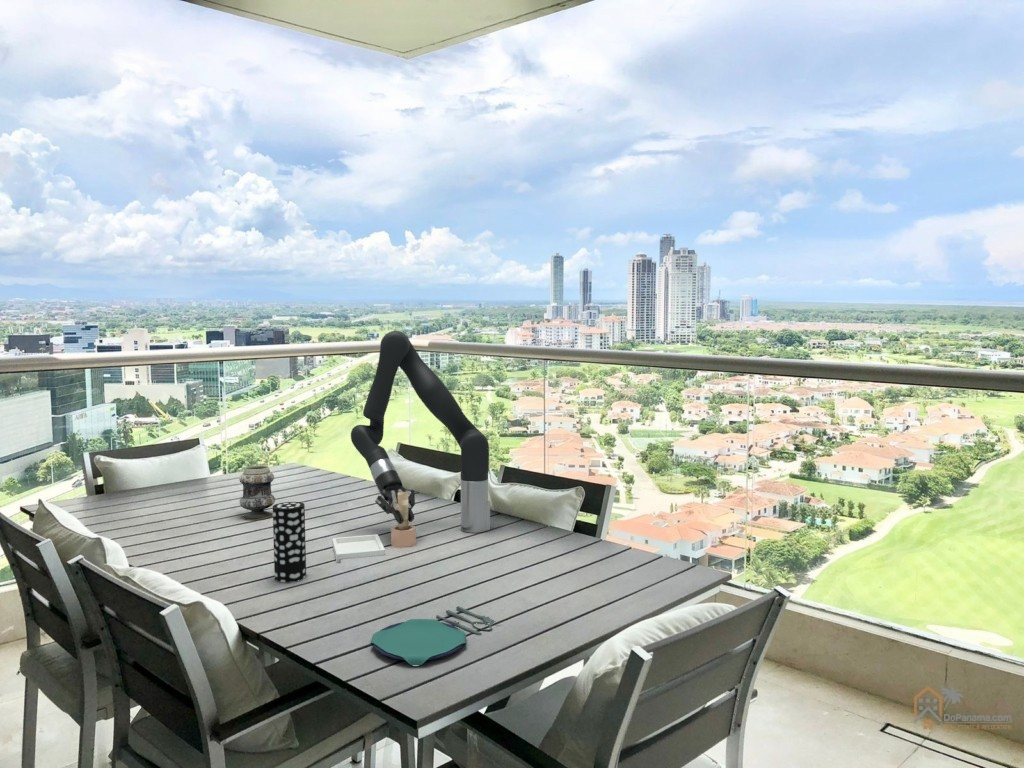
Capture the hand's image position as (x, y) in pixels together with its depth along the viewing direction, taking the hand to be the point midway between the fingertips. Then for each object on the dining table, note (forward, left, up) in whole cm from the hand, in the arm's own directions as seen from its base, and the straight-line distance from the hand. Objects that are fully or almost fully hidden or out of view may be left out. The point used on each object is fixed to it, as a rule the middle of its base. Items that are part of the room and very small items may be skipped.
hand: (406, 521), depth 228 cm
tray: (+15, -1, -8) cm, 17 cm away
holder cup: (+1, -2, -8) cm, 9 cm away
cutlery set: (+5, +67, -9) cm, 67 cm away
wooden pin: (+1, -2, -7) cm, 8 cm away
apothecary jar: (+45, -54, -9) cm, 71 cm away
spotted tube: (+35, +16, -9) cm, 39 cm away
